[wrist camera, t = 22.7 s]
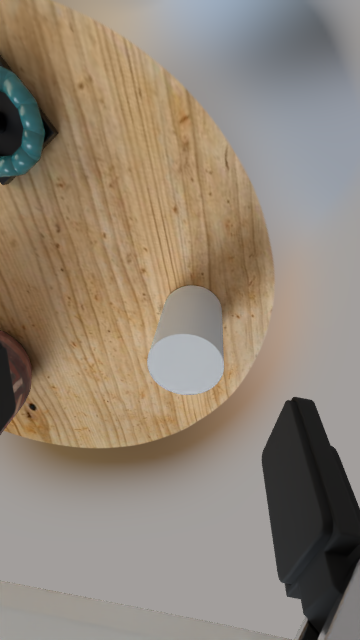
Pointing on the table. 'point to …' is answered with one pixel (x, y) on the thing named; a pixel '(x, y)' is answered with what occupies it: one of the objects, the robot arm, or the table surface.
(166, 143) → the table surface
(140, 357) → the table surface
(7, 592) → the robot arm
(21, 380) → the pottery
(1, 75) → the ring
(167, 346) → the grey cylinder
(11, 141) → the peg stand
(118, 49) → the table surface
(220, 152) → the table surface
